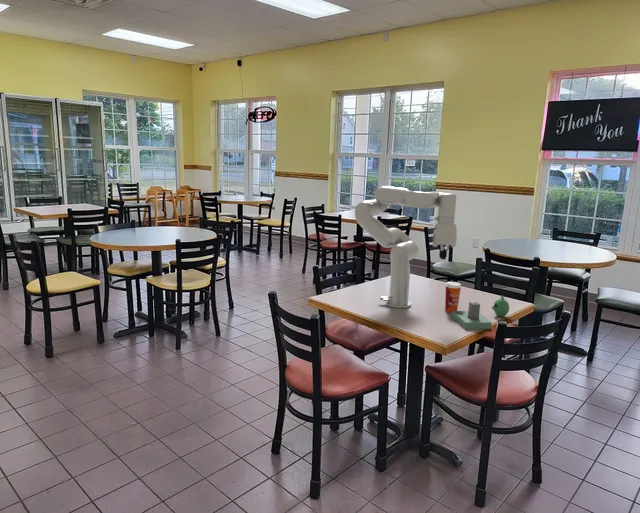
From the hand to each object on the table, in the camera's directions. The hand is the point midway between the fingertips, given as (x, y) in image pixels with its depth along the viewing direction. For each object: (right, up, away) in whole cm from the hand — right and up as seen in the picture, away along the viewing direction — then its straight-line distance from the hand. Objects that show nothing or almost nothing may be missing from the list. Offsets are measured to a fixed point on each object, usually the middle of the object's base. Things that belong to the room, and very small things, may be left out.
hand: (442, 258), depth 224 cm
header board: (+11, -29, -6) cm, 32 cm away
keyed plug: (+11, -30, -8) cm, 33 cm away
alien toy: (+28, -28, +4) cm, 40 cm away
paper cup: (+7, -26, +10) cm, 29 cm away
